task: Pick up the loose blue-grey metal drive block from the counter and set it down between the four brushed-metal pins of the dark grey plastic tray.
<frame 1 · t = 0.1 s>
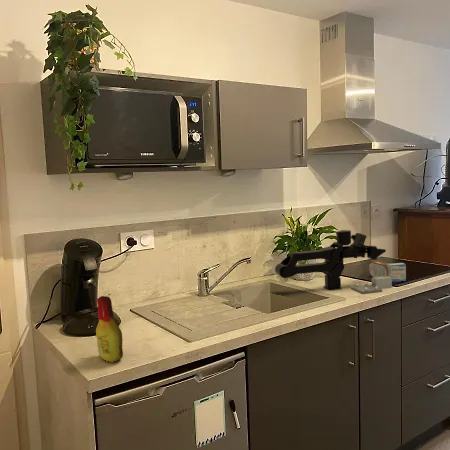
hand: (380, 249, 225), 17 cm above the worktop, tool horizontal, fingers open, 9 cm apart
bottle: (110, 359, 146), on the worktop
tin: (379, 279, 236), on the worktop, touching medicine box
drive block: (381, 287, 218), on the worktop
tray: (366, 290, 214), on the worktop
medicine box: (396, 281, 229), on the worktop, touching tin
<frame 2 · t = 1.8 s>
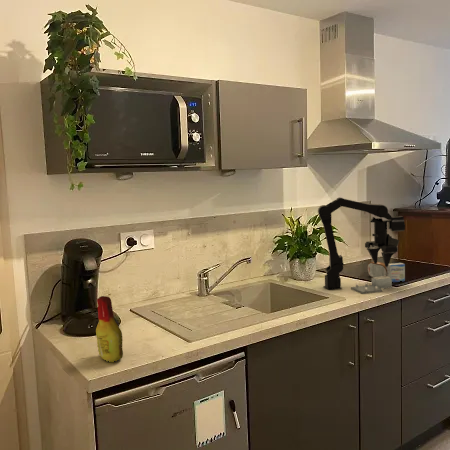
hand: (381, 265, 217), 11 cm above the worktop, tool pointing down, fingers open, 9 cm apart
tin: (378, 279, 236), on the worktop, touching medicine box
medicine box: (395, 281, 229), on the worktop, touching tin
everything else where it was.
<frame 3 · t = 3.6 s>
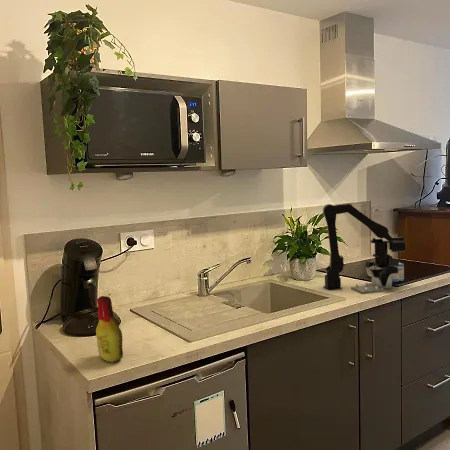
hand: (381, 285, 218), 1 cm above the worktop, tool pointing down, fingers closed on drive block, 4 cm apart
drive block: (381, 287, 218), on the worktop, touching gripper
medicine box: (394, 281, 229), on the worktop, touching tin
everything else where it was.
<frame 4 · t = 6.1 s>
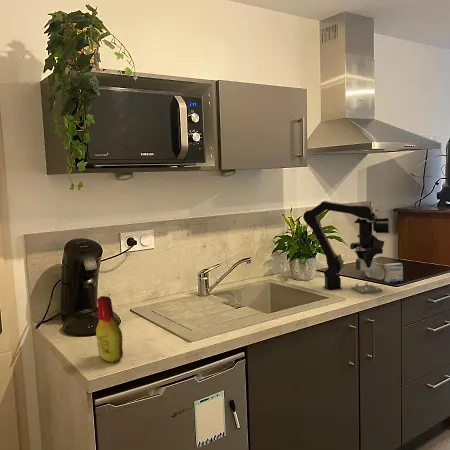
hand: (366, 266, 213), 11 cm above the worktop, tool pointing down, fingers closed on drive block, 4 cm apart
tin: (376, 279, 235), on the worktop, touching medicine box
drive block: (366, 269, 213), point 10 cm above the worktop, touching gripper
medicine box: (393, 281, 229), on the worktop, touching tin
everything else where it was.
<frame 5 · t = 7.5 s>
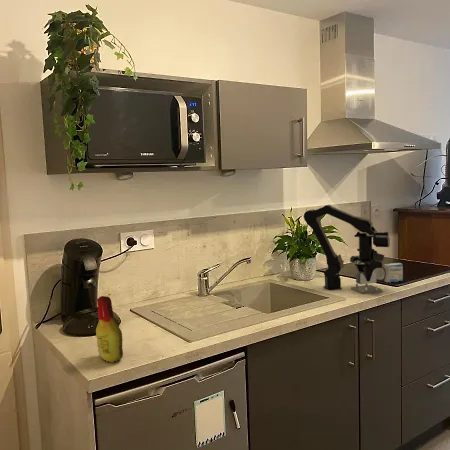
hand: (366, 280, 214), 5 cm above the worktop, tool pointing down, fingers closed on drive block, 4 cm apart
drive block: (366, 282, 214), point 4 cm above the worktop, touching gripper
everything else where it was.
when the fingers open (3 cm above the worktop, at t = 8.7 s): drive block stays where it is, resting on tray.
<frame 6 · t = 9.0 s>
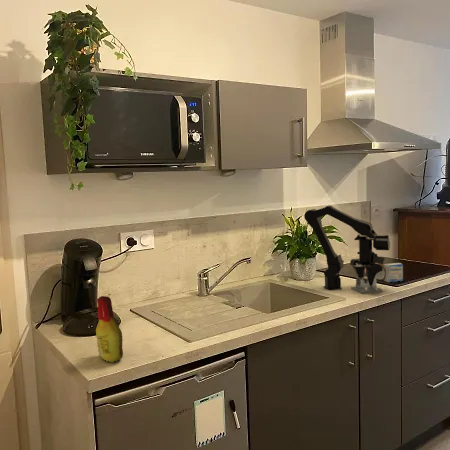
hand: (366, 283, 214), 3 cm above the worktop, tool pointing down, fingers open, 8 cm apart
drive block: (366, 288, 214), point 1 cm above the worktop, touching tray
everything else where it was.
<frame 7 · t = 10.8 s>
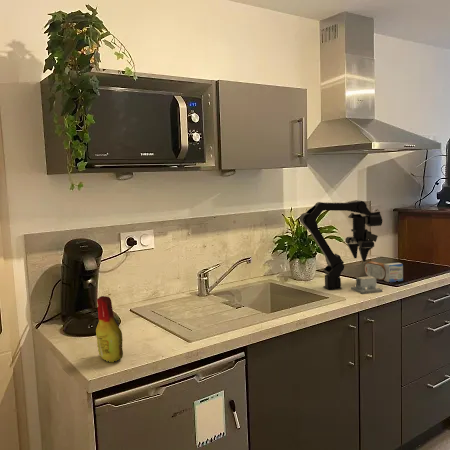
hand: (359, 259, 221), 13 cm above the worktop, tool pointing down, fingers open, 9 cm apart
nothing on the worktop moved.
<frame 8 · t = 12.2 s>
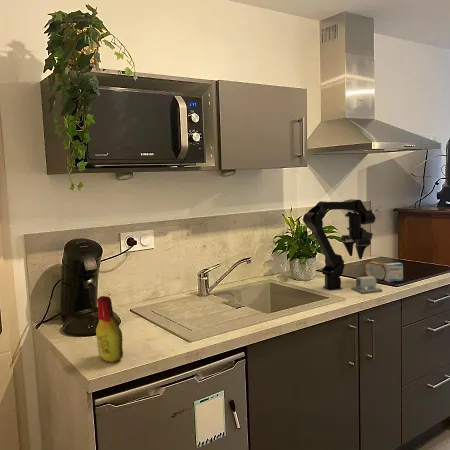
hand: (355, 257, 226), 13 cm above the worktop, tool pointing down, fingers open, 9 cm apart
tin: (376, 279, 236), on the worktop, touching medicine box
at the end: drive block 0.0 cm off-centre on the tray, point 1.0 cm above the tray's base; drive block tilted 0°; the gripper is holding nothing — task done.
